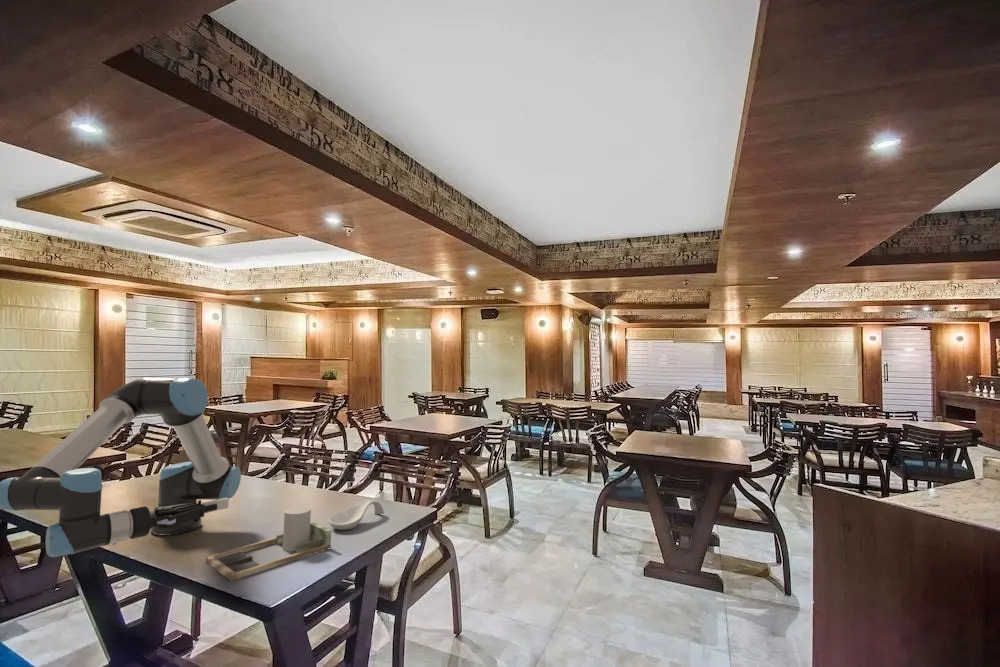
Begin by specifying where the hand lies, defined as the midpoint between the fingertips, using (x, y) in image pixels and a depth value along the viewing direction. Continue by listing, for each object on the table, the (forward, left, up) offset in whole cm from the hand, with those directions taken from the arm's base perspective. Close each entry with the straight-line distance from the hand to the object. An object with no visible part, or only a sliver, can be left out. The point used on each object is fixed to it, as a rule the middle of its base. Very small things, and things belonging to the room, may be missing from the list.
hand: (227, 502), depth 140 cm
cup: (0, +22, -20) cm, 30 cm away
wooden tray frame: (0, +14, -19) cm, 24 cm away
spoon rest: (-6, +49, -20) cm, 53 cm away
